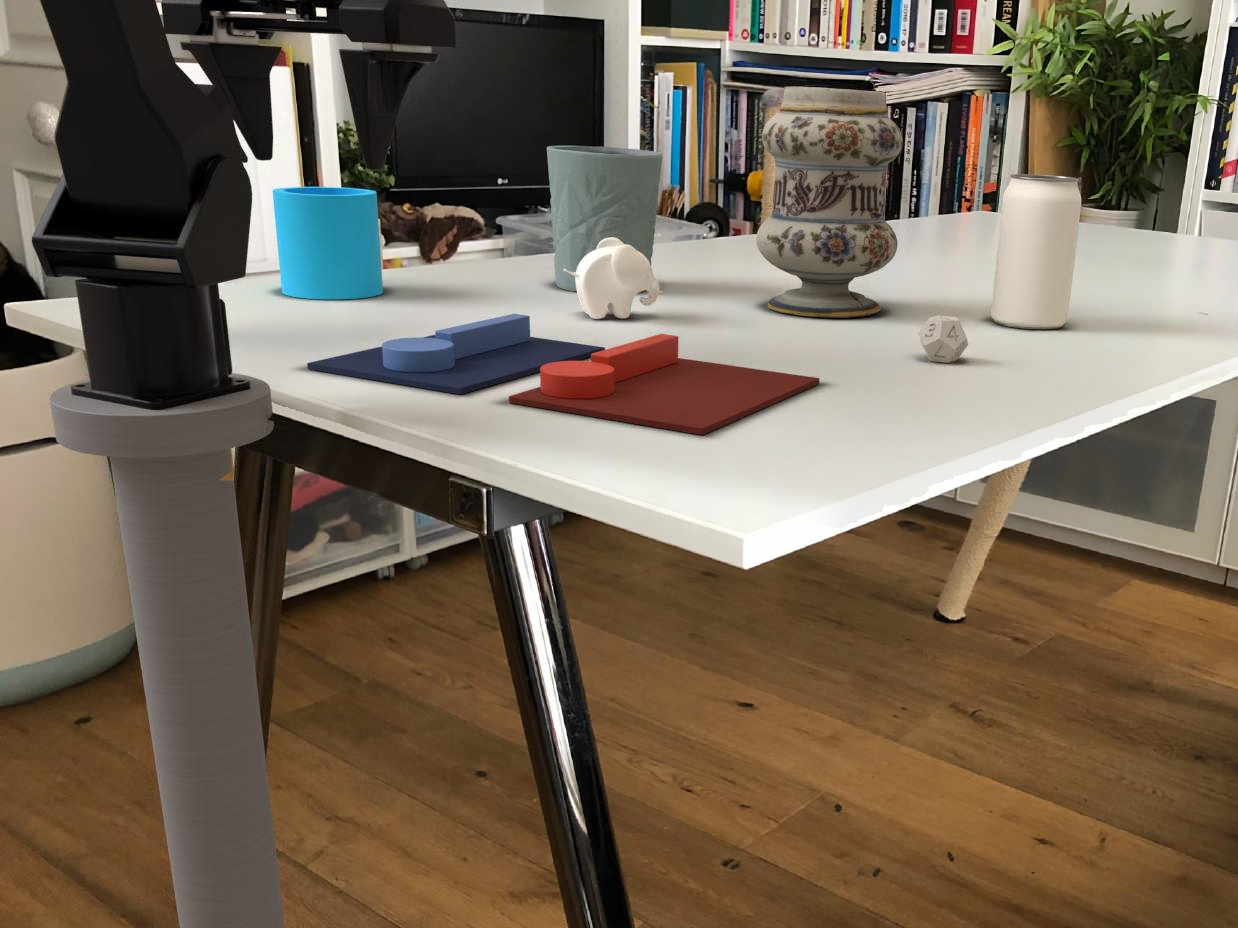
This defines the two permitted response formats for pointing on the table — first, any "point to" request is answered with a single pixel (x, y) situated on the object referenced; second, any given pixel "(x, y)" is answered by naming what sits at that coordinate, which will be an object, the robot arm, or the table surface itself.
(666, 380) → the red mat
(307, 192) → the mug
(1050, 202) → the can
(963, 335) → the game die
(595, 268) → the elephant figurine
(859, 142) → the apothecary jar
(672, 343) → the red spoon
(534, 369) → the blue mat
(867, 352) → the table surface
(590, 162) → the green plant pot
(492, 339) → the blue spoon
